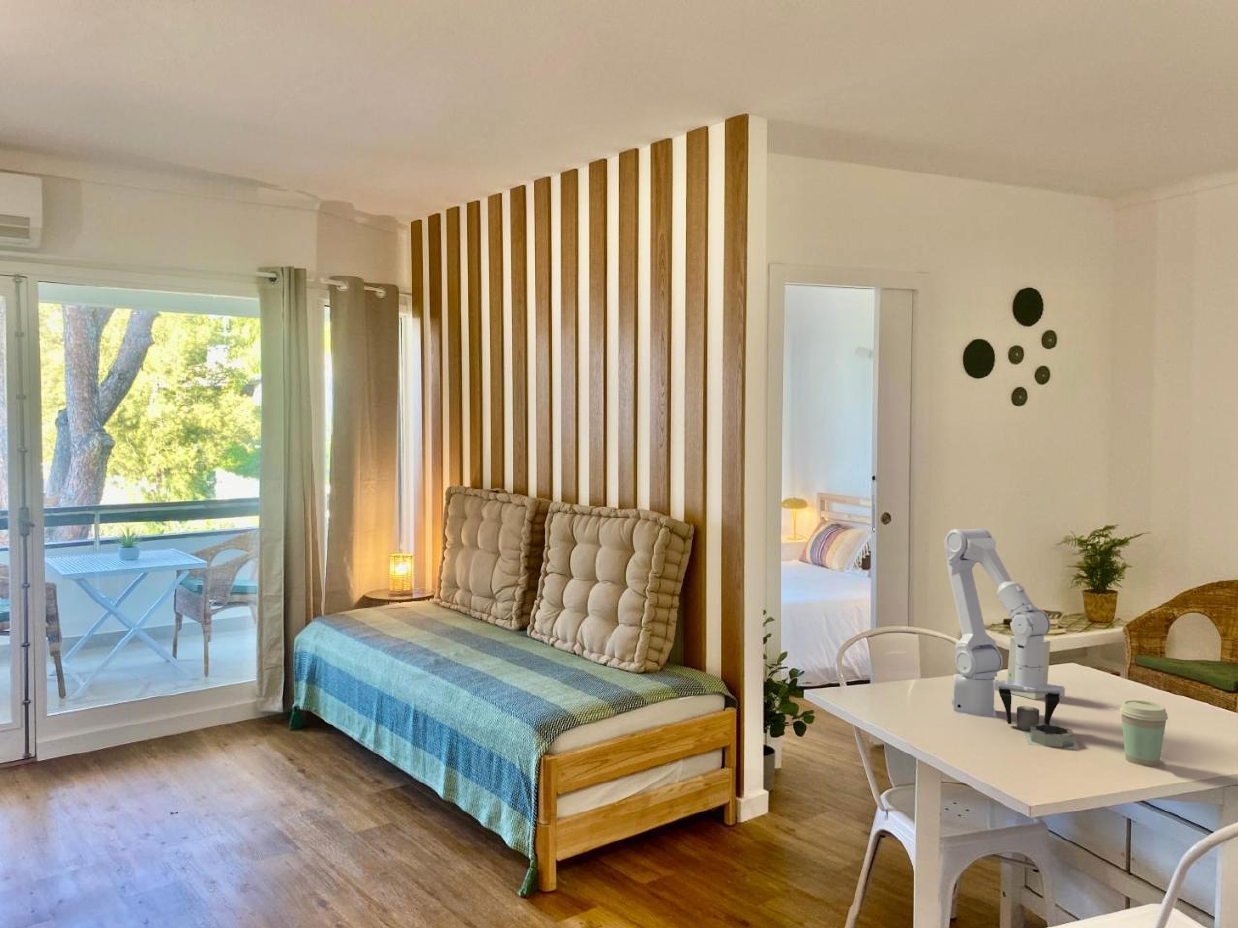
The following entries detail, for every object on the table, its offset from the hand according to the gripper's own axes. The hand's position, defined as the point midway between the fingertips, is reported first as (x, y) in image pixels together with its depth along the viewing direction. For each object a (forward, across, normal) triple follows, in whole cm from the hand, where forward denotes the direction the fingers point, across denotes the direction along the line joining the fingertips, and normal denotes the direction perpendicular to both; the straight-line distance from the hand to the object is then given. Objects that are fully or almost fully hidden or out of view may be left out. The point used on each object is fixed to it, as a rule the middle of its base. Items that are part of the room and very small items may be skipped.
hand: (1027, 724), depth 209 cm
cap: (+2, 0, 0) cm, 2 cm away
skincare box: (+2, +3, +33) cm, 33 cm away
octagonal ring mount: (+1, +4, -8) cm, 9 cm away
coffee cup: (+2, +20, -15) cm, 25 cm away
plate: (+1, +4, -8) cm, 9 cm away
